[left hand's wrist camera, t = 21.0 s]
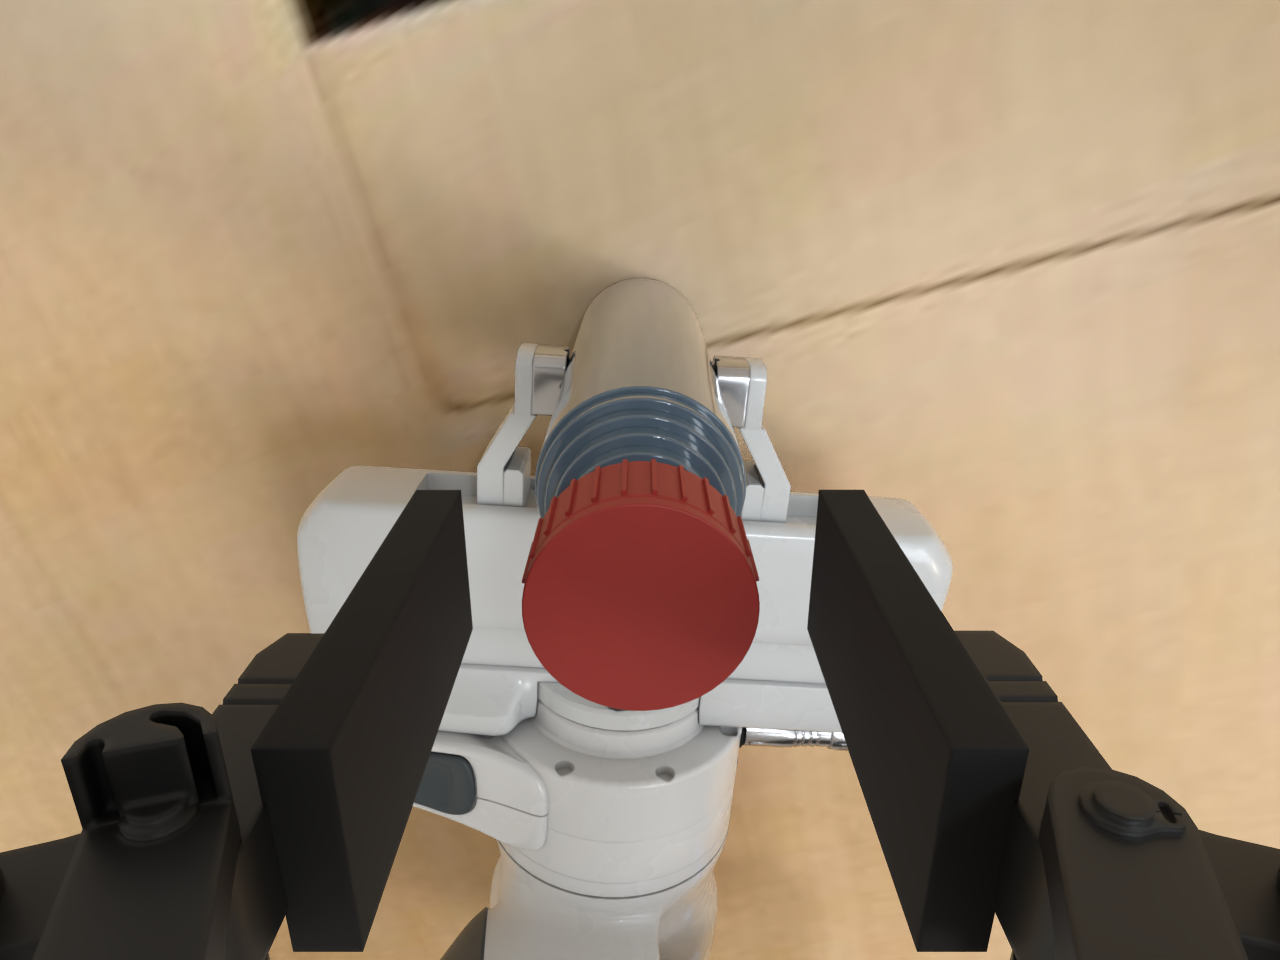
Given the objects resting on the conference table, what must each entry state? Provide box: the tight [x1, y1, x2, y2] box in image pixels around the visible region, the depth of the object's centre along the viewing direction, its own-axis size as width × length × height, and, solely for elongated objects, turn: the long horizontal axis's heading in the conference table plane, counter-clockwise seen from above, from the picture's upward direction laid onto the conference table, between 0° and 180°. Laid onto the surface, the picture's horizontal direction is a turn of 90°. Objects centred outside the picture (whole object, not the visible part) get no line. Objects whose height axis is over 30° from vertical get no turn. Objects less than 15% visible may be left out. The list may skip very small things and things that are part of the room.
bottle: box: [535, 278, 746, 519], centre depth 22 cm, size 4×4×19 cm
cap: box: [522, 459, 760, 711], centre depth 14 cm, size 4×4×2 cm
